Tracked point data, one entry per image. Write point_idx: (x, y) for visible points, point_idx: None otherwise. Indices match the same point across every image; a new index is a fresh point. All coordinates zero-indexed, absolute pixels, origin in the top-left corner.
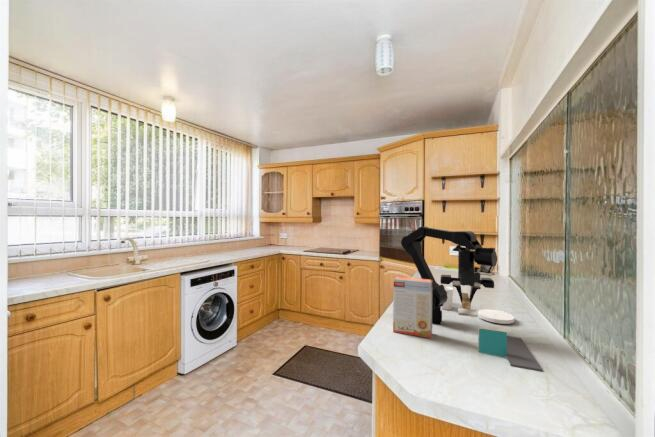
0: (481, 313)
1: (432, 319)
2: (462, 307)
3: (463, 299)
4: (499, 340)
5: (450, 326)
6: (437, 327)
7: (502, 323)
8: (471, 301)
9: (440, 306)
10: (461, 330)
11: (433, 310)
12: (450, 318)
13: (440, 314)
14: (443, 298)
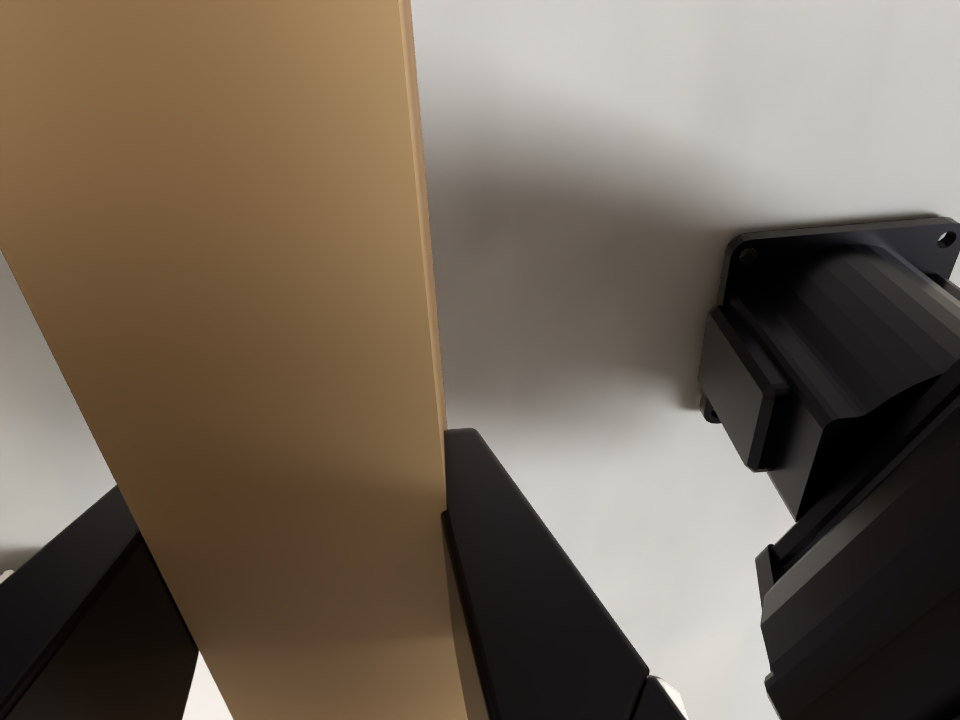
0: None
1: (869, 265)
2: (427, 207)
3: (398, 500)
4: None
5: (589, 247)
6: (791, 109)
7: (5, 572)
8: (97, 506)
9: (804, 518)
10: (438, 160)
11: (952, 347)
12: (570, 503)
13: (774, 366)
14: (922, 594)
